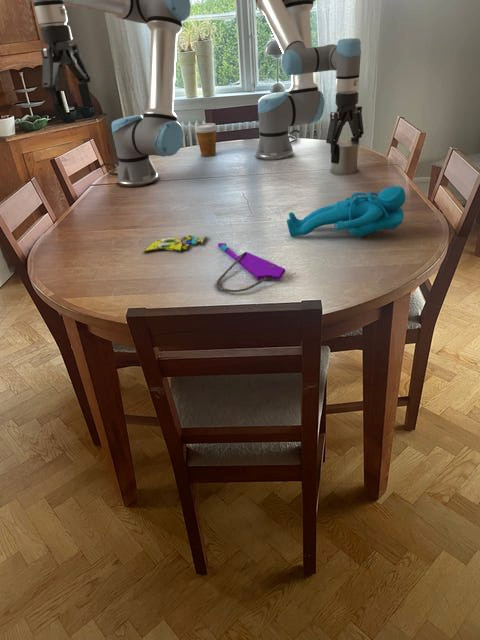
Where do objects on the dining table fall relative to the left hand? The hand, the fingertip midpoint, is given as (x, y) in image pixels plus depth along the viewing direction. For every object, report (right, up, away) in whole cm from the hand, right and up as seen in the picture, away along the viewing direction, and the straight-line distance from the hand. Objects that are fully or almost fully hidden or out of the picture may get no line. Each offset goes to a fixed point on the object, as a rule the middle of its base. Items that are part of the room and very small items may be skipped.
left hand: (75, 112), depth 137 cm
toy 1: (+30, -39, -6) cm, 49 cm away
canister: (+85, -5, +38) cm, 93 cm away
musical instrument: (+46, -48, -22) cm, 70 cm away
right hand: (+85, -2, +36) cm, 92 cm away
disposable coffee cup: (+33, +13, +74) cm, 82 cm away
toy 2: (+75, -37, -9) cm, 84 cm away
